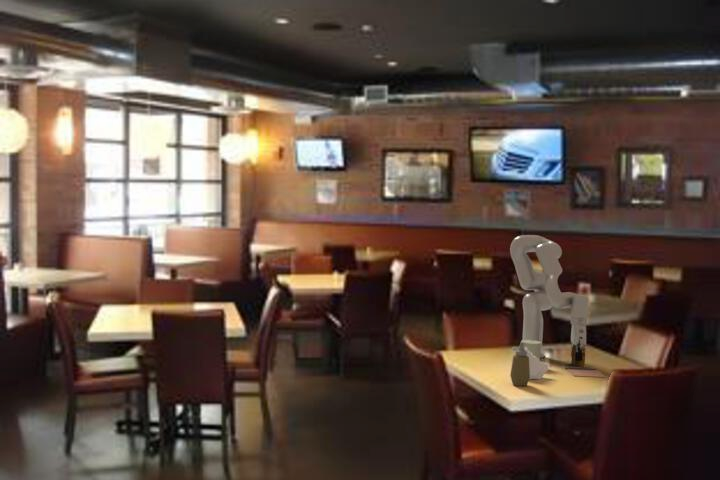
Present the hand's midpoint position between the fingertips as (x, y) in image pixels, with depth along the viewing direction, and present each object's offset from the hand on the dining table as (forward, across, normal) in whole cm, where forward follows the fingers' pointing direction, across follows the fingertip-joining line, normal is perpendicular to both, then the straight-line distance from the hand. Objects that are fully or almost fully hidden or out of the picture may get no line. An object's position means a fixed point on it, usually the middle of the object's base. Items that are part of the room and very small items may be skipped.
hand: (576, 358), depth 367 cm
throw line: (+3, -8, 0) cm, 8 cm away
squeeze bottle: (+4, -42, +35) cm, 55 cm away
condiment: (+4, 0, 0) cm, 4 cm away
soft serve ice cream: (+4, -27, +29) cm, 40 cm away
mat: (+3, -16, 0) cm, 16 cm away
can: (+4, -5, +23) cm, 24 cm away
